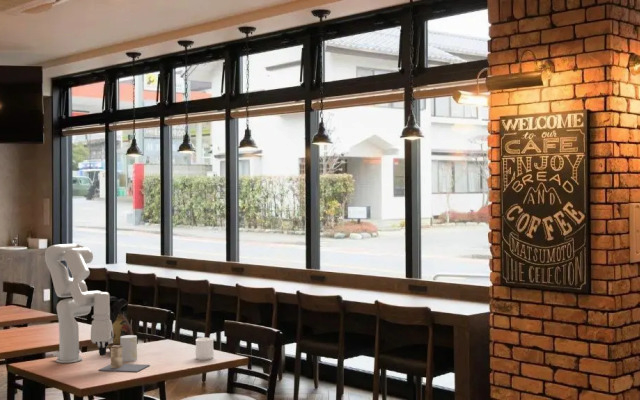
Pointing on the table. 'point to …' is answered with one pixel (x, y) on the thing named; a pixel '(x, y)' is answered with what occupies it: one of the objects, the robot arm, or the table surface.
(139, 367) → the mat
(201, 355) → the cup
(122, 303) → the ceramic jug
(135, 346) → the cup
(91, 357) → the table surface
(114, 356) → the block
